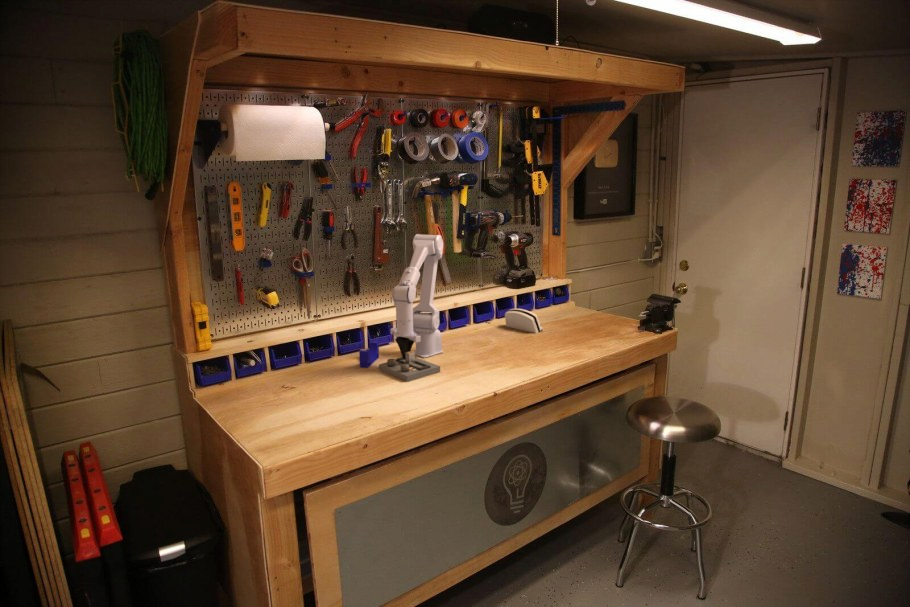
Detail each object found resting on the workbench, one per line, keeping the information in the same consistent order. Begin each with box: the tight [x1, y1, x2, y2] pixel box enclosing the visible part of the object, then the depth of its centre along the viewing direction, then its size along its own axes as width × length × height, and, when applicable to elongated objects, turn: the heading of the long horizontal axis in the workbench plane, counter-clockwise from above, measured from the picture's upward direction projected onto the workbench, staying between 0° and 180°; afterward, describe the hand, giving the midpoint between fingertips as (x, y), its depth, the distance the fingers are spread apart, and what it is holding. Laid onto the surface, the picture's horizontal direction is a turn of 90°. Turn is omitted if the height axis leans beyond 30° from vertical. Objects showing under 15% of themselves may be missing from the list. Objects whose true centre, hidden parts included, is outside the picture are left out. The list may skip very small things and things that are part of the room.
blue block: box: [358, 341, 380, 369], centre depth 218 cm, size 12×4×6 cm, turn 169°
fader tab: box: [405, 350, 416, 364], centre depth 210 cm, size 3×2×4 cm
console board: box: [378, 356, 441, 383], centre depth 208 cm, size 14×16×4 cm
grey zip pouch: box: [504, 308, 544, 334], centre depth 257 cm, size 17×5×10 cm, turn 45°
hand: (405, 357), depth 211 cm, fingers closed
